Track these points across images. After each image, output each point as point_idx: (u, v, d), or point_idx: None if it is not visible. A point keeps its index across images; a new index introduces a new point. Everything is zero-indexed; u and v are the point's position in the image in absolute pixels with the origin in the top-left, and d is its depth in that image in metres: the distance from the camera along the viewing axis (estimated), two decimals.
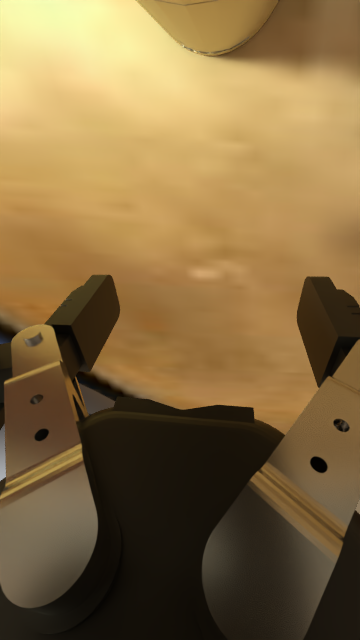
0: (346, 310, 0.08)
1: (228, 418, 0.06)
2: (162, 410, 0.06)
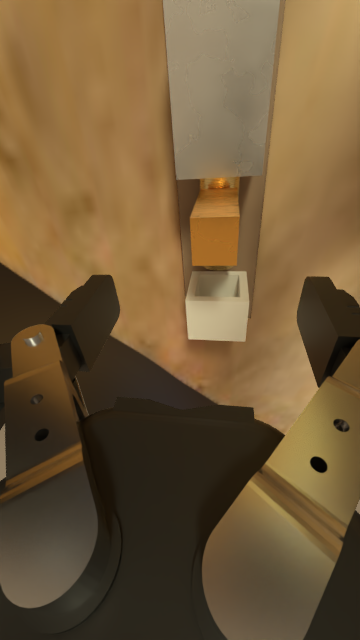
0: (346, 310, 0.08)
1: (228, 418, 0.06)
2: (162, 410, 0.06)
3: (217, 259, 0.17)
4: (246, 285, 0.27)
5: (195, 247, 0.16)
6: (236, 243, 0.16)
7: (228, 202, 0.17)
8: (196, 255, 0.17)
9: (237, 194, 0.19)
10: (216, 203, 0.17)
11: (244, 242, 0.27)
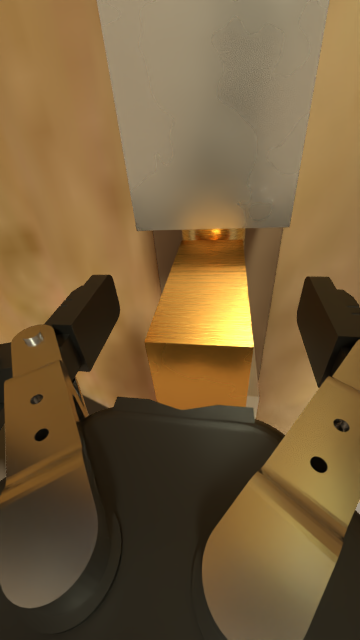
0: (346, 310, 0.08)
1: (228, 418, 0.06)
2: (162, 410, 0.06)
3: (207, 405, 0.08)
4: (253, 361, 0.19)
5: (162, 385, 0.08)
6: (245, 386, 0.08)
7: (228, 284, 0.09)
8: (165, 396, 0.08)
9: (244, 259, 0.10)
10: (205, 287, 0.09)
11: (250, 298, 0.19)
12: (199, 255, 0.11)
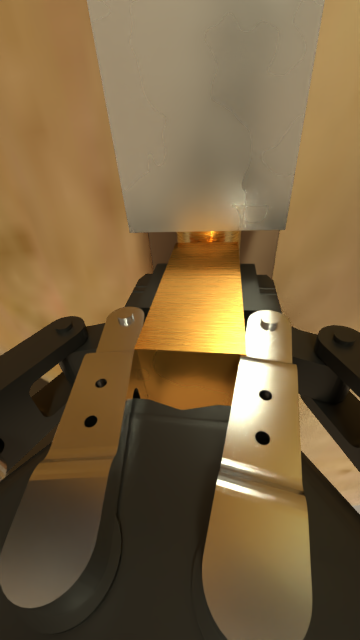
0: (256, 290, 0.09)
1: (228, 418, 0.06)
2: (162, 410, 0.06)
3: None
4: None
5: (153, 393, 0.08)
6: None
7: (222, 288, 0.09)
8: None
9: (239, 262, 0.10)
10: (198, 291, 0.09)
11: None
12: (193, 258, 0.11)
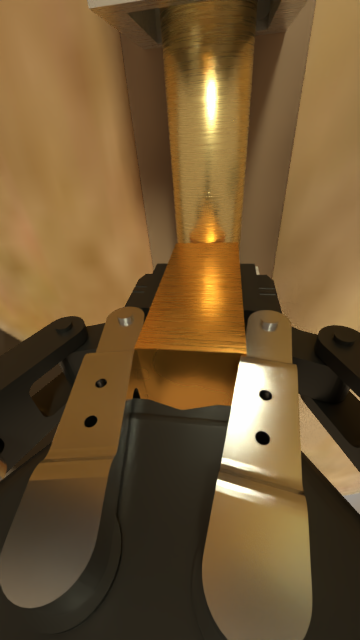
0: (256, 290, 0.09)
1: (228, 418, 0.06)
2: (162, 410, 0.06)
3: None
4: None
5: (154, 392, 0.08)
6: None
7: (222, 288, 0.09)
8: None
9: (239, 262, 0.10)
10: (198, 290, 0.09)
11: (256, 213, 0.15)
12: (193, 258, 0.11)
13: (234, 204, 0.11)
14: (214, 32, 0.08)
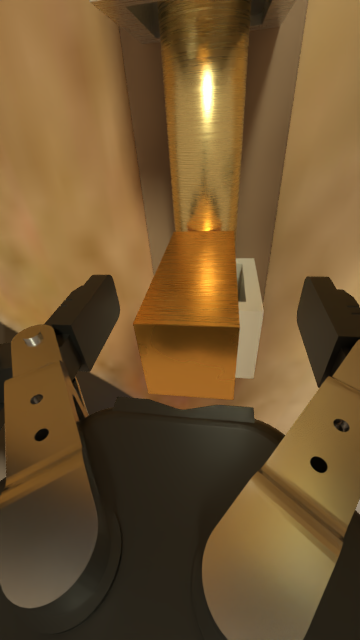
0: (346, 310, 0.08)
1: (228, 418, 0.06)
2: (162, 410, 0.06)
3: (196, 389, 0.08)
4: (256, 280, 0.15)
5: (151, 369, 0.08)
6: (232, 369, 0.08)
7: (218, 271, 0.09)
8: (154, 380, 0.09)
9: (234, 248, 0.11)
10: (195, 273, 0.09)
11: (252, 206, 0.16)
12: (190, 245, 0.11)
13: (230, 193, 0.12)
14: (209, 23, 0.08)
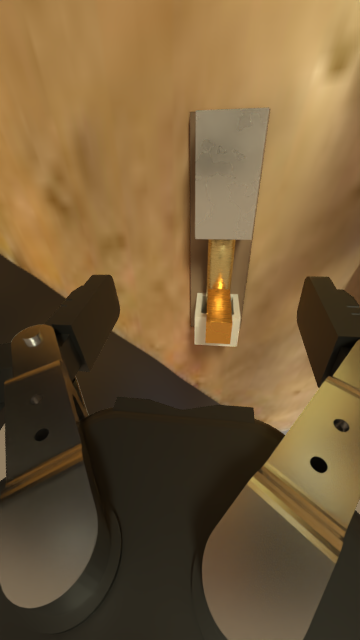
0: (346, 310, 0.08)
1: (228, 418, 0.06)
2: (162, 410, 0.06)
3: (219, 341, 0.30)
4: (238, 305, 0.37)
5: (208, 334, 0.30)
6: (230, 334, 0.29)
7: (226, 307, 0.31)
8: (208, 338, 0.30)
9: (230, 298, 0.32)
10: (219, 307, 0.31)
11: (237, 274, 0.37)
12: (215, 295, 0.33)
13: (229, 277, 0.33)
14: None
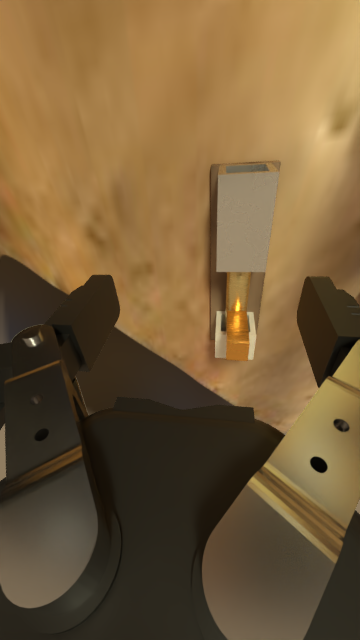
0: (346, 310, 0.08)
1: (228, 418, 0.06)
2: (162, 410, 0.06)
3: (238, 358, 0.35)
4: (253, 323, 0.42)
5: (228, 353, 0.35)
6: (247, 353, 0.34)
7: (243, 328, 0.36)
8: (228, 356, 0.35)
9: None
10: (237, 329, 0.36)
11: (252, 295, 0.42)
12: (234, 317, 0.38)
13: (245, 300, 0.38)
14: None
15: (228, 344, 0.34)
